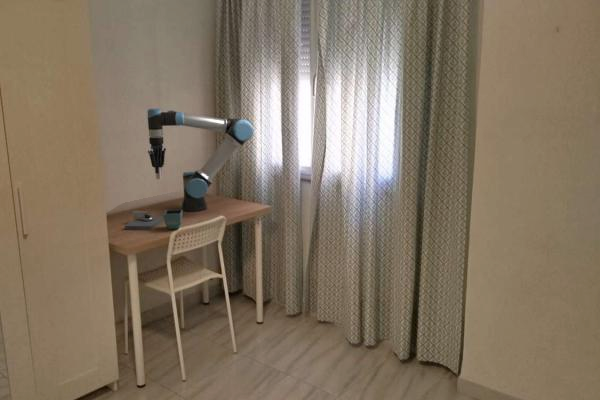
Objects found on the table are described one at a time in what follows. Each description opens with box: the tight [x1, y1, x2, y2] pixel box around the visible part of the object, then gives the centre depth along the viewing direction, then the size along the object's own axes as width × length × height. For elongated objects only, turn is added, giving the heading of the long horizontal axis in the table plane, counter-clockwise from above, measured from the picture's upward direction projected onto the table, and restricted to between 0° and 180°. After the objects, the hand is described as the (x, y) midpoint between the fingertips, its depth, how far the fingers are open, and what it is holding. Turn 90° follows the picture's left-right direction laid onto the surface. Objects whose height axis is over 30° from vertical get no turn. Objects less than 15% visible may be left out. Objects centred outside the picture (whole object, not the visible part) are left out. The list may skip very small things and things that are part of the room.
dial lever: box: [132, 210, 153, 221], centre depth 276 cm, size 12×6×4 cm, turn 75°
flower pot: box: [163, 209, 183, 230], centre depth 267 cm, size 9×9×9 cm
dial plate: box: [124, 215, 164, 231], centre depth 274 cm, size 14×20×2 cm
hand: (158, 178), depth 285 cm, fingers closed
